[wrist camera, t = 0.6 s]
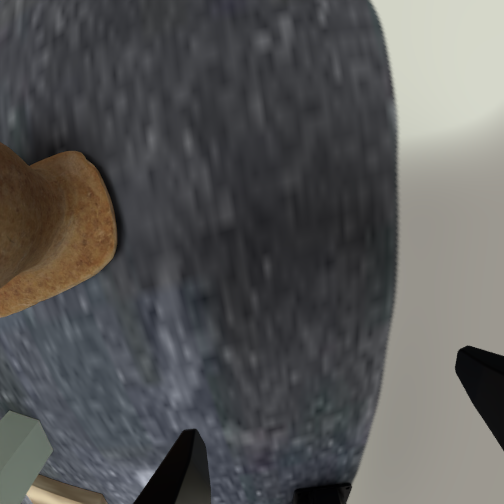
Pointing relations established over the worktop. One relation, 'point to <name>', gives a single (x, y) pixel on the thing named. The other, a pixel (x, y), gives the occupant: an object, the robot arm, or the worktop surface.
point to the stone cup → (51, 227)
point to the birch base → (61, 493)
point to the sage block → (20, 455)
